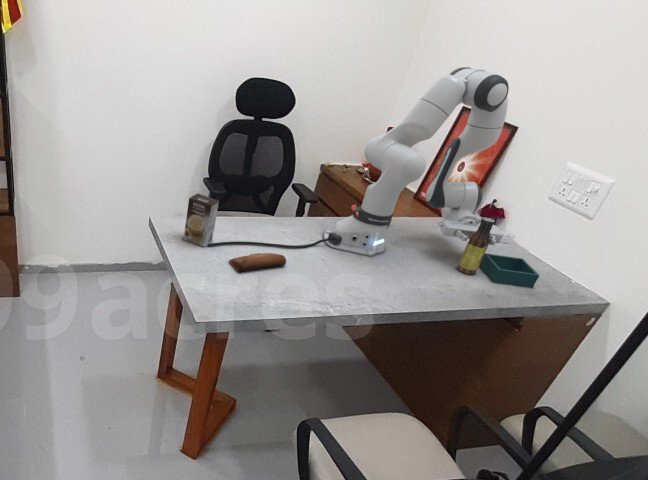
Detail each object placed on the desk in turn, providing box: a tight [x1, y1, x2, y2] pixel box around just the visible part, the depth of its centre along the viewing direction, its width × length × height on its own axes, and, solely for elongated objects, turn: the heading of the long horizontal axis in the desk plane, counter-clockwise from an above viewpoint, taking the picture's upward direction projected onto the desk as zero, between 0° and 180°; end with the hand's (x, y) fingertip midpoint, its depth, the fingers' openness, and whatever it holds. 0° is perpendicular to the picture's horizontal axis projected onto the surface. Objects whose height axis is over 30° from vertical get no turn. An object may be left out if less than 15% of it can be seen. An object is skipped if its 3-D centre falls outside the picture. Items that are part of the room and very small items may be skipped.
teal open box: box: [479, 252, 540, 289], centre depth 184 cm, size 14×13×5 cm
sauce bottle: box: [457, 217, 496, 275], centre depth 181 cm, size 7×6×20 cm
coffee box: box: [183, 193, 220, 248], centre depth 182 cm, size 9×6×16 cm
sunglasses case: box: [229, 252, 287, 273], centre depth 174 cm, size 18×7×7 cm, turn 113°
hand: (479, 241), depth 180 cm, fingers open, 8 cm apart
